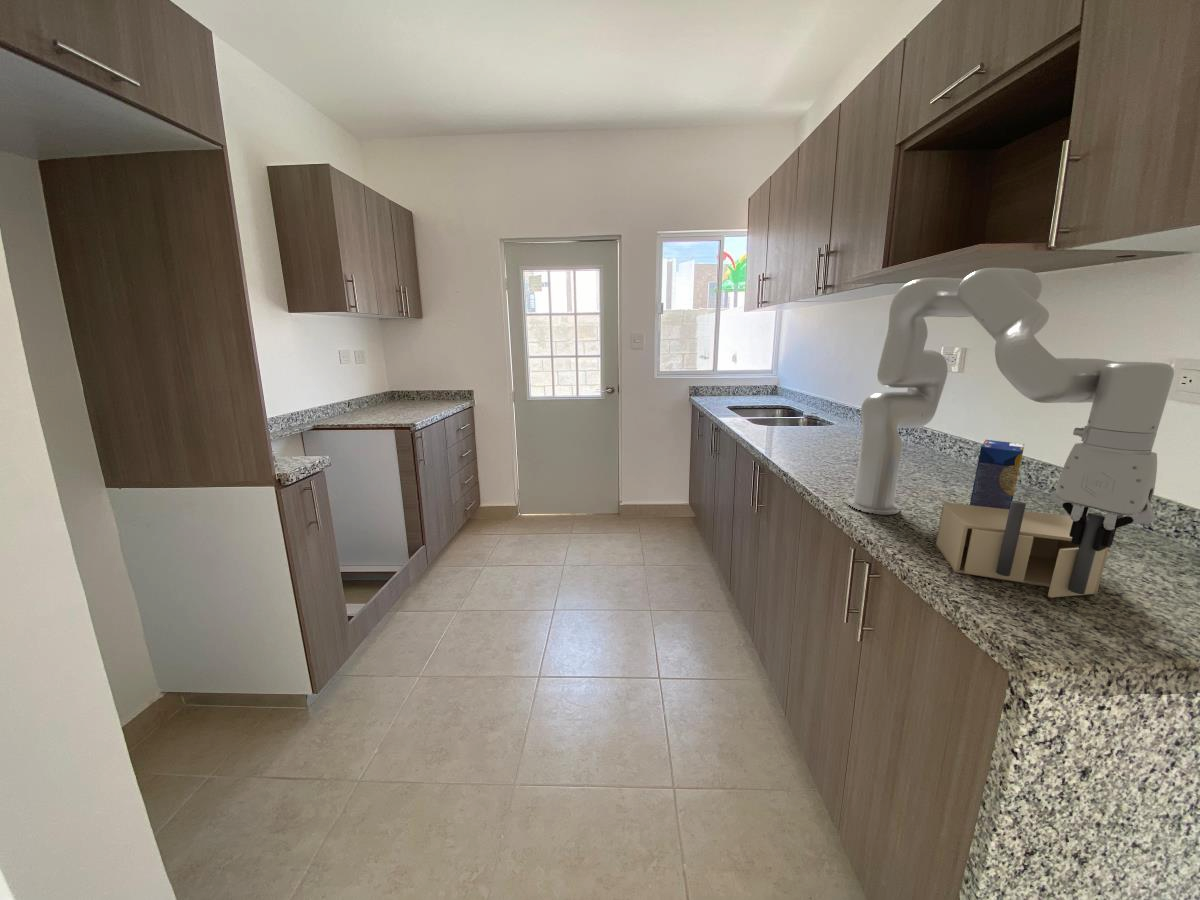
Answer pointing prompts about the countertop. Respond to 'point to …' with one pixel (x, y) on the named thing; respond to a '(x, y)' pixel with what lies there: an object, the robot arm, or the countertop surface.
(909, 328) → the robot arm
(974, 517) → the wooden cabinet
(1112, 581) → the countertop surface
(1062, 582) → the flap
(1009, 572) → the flap
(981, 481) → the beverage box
